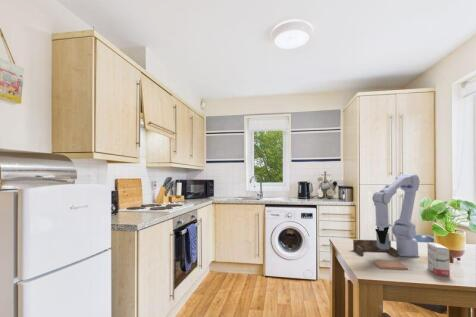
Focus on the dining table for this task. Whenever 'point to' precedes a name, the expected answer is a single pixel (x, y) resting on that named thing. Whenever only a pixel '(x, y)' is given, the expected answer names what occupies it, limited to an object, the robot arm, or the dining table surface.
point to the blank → (383, 246)
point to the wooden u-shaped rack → (371, 247)
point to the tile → (390, 265)
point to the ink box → (438, 259)
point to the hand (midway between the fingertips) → (382, 242)
